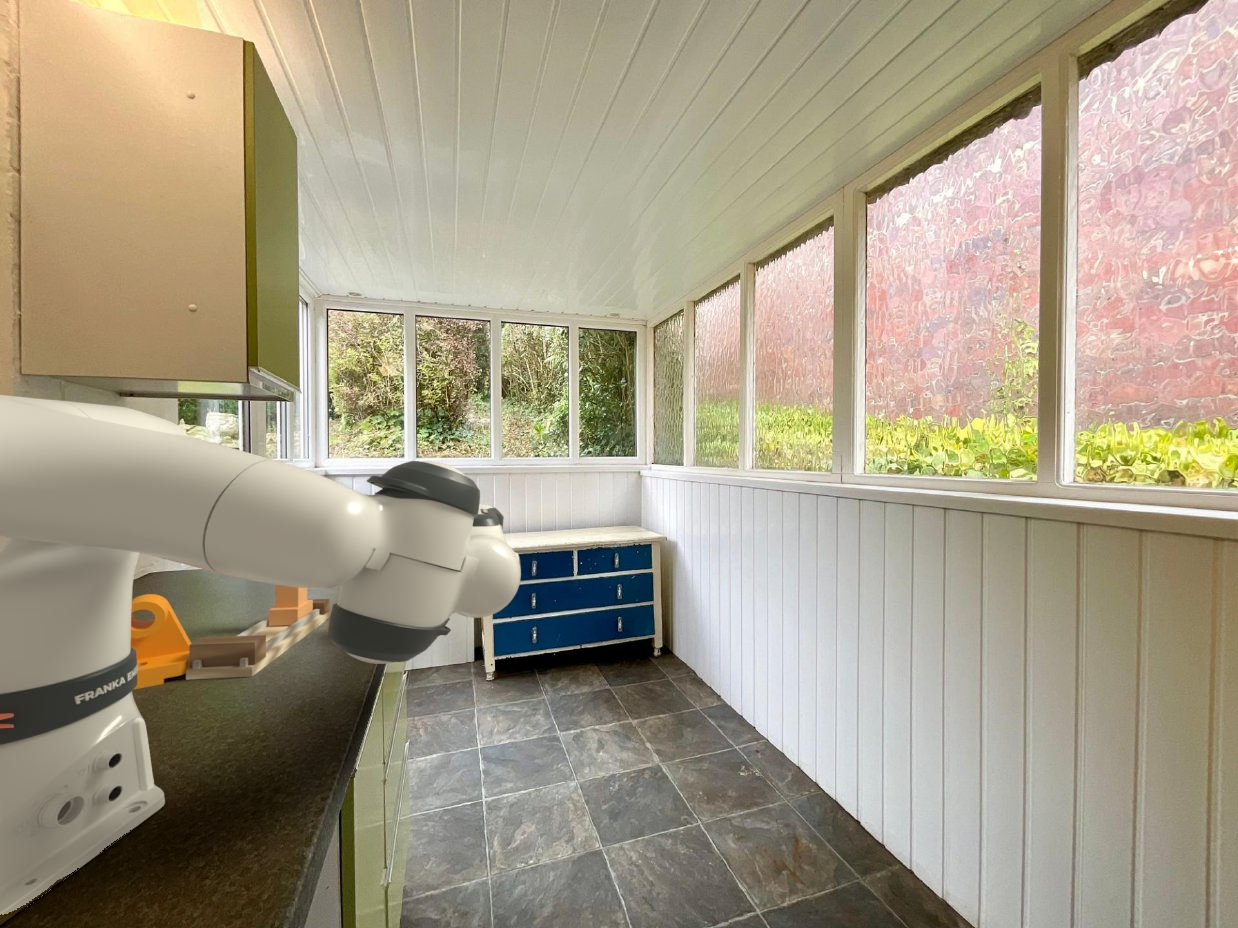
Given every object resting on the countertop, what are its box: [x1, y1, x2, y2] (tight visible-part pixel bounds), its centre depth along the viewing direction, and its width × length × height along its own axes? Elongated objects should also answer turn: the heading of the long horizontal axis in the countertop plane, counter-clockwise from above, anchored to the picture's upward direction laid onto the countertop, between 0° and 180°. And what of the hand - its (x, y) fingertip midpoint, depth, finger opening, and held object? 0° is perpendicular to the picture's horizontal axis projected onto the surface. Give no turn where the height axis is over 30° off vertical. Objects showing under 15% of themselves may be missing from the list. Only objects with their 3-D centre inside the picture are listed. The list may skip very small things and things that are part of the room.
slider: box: [268, 585, 313, 626], centre depth 94 cm, size 6×5×13 cm
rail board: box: [185, 598, 331, 681], centre depth 86 cm, size 27×9×5 cm, turn 9°
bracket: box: [131, 593, 192, 691], centre depth 72 cm, size 11×7×12 cm, turn 126°
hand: (367, 573), depth 96 cm, fingers open, 8 cm apart
